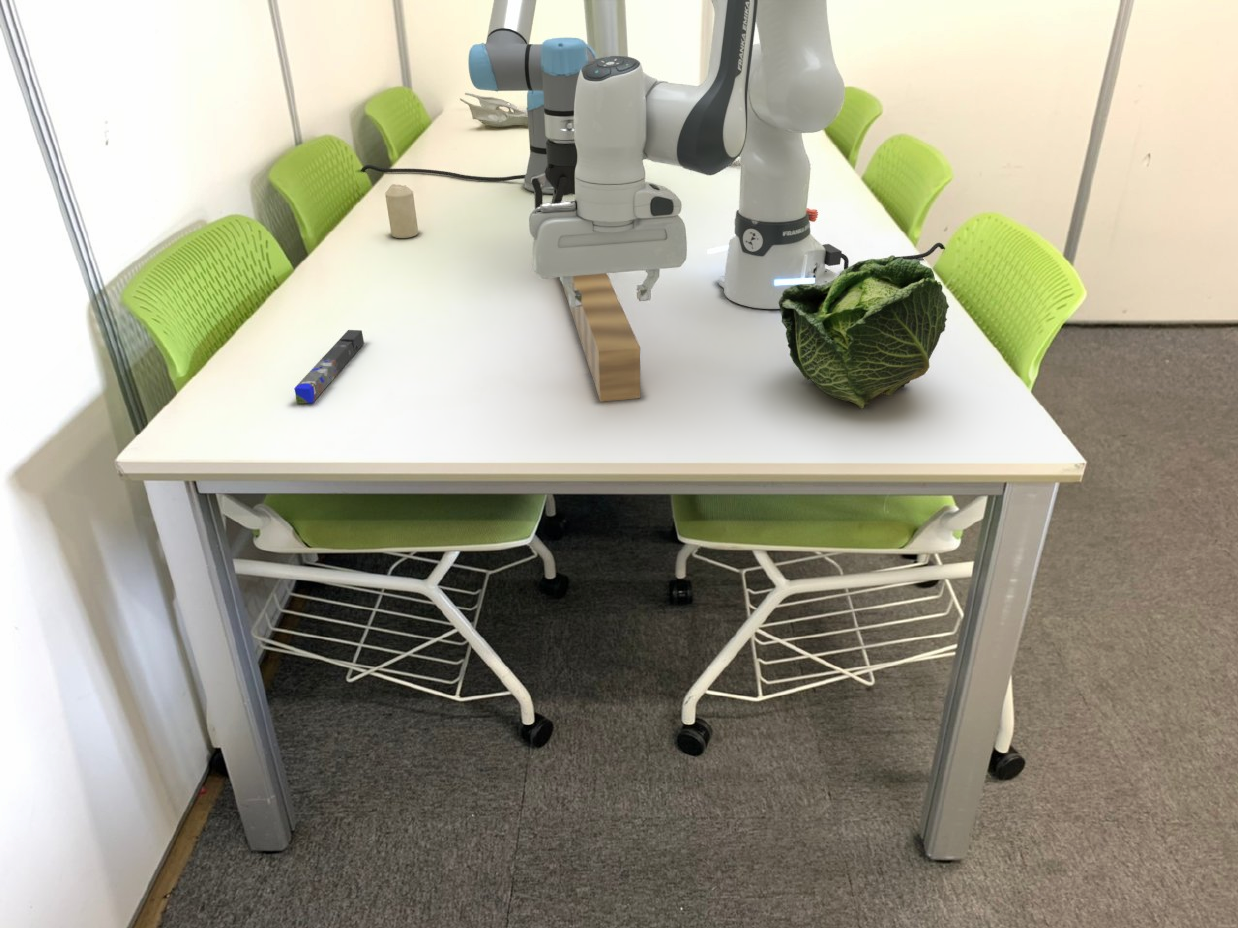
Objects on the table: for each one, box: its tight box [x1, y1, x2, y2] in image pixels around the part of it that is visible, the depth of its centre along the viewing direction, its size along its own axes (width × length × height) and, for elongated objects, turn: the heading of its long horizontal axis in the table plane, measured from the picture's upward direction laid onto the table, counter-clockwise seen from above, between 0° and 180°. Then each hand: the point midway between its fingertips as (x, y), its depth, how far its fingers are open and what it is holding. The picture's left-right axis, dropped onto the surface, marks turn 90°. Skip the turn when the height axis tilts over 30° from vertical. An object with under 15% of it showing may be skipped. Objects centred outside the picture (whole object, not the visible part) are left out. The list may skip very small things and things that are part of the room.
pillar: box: [294, 329, 365, 404], centre depth 131 cm, size 2×2×20 cm
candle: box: [384, 183, 419, 239], centre depth 183 cm, size 6×6×10 cm
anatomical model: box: [459, 92, 528, 128], centre depth 271 cm, size 15×9×25 cm
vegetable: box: [779, 254, 950, 410], centre depth 120 cm, size 20×19×20 cm
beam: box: [561, 273, 641, 403], centre depth 144 cm, size 56×6×8 cm, turn 10°
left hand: (573, 268), depth 165 cm, fingers closed on beam, 6 cm apart
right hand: (609, 302), depth 120 cm, fingers open, 8 cm apart
